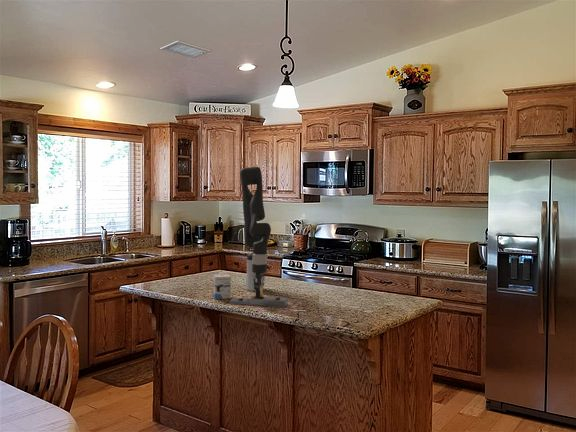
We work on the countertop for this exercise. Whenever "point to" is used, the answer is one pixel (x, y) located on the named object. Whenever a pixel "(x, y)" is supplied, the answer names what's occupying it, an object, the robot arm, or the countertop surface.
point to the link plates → (261, 301)
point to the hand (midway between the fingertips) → (259, 296)
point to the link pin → (260, 292)
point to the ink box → (222, 287)
